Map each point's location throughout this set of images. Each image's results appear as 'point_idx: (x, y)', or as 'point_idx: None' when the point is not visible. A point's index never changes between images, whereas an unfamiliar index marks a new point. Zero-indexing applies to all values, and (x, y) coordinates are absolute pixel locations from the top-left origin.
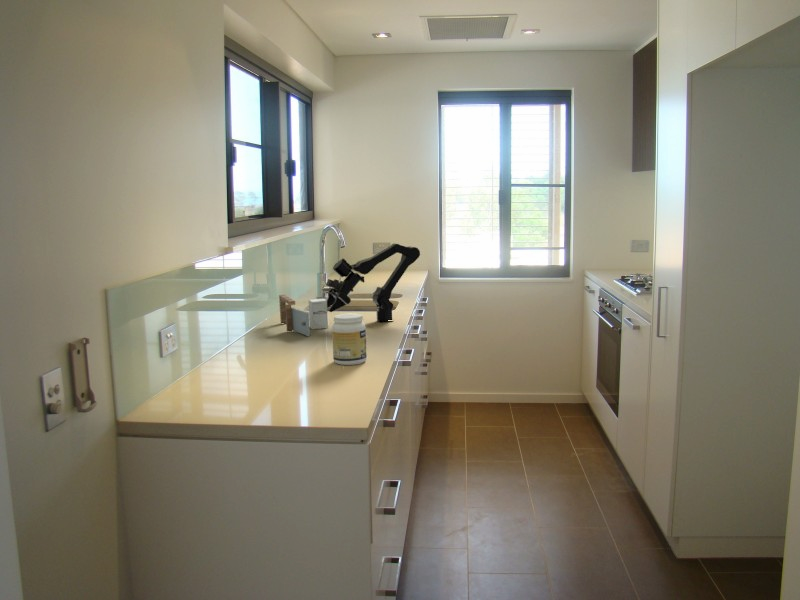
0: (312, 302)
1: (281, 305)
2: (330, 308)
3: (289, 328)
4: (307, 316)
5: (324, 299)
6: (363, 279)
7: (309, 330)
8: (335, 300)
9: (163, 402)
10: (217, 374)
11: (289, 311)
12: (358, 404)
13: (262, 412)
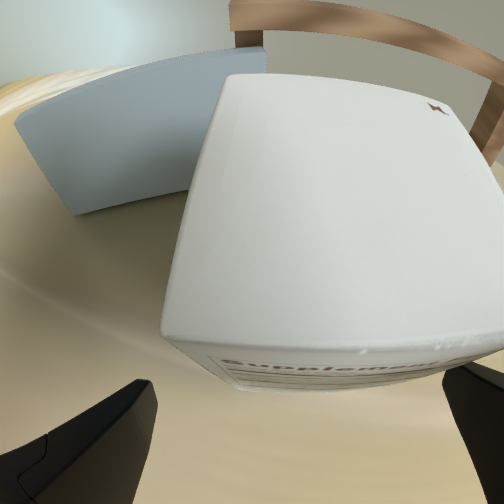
0: (222, 87)
1: (485, 106)
2: (120, 396)
3: None
4: (27, 136)
5: (463, 319)
6: None
7: (61, 199)
8: (3, 494)
9: (3, 89)
10: (17, 95)
11: None
12: None
13: None
